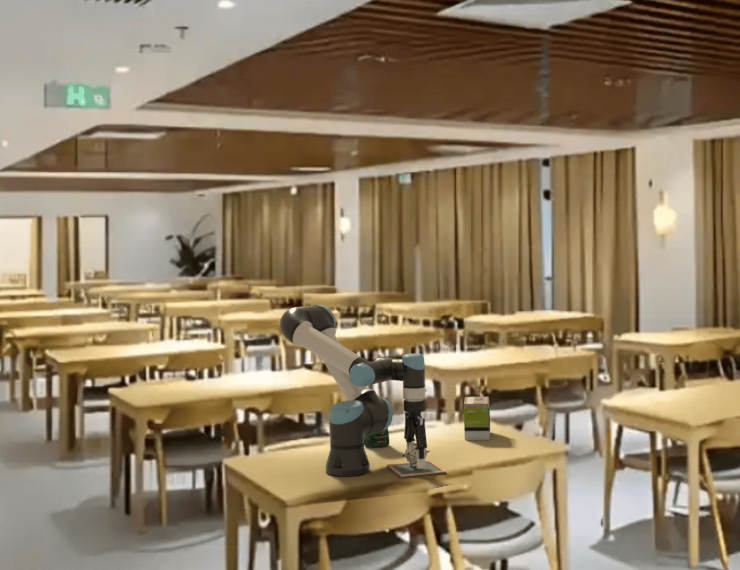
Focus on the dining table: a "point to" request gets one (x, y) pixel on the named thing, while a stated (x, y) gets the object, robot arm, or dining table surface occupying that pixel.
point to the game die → (412, 453)
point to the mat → (415, 469)
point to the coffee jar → (377, 439)
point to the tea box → (477, 418)
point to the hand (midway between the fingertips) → (415, 464)
